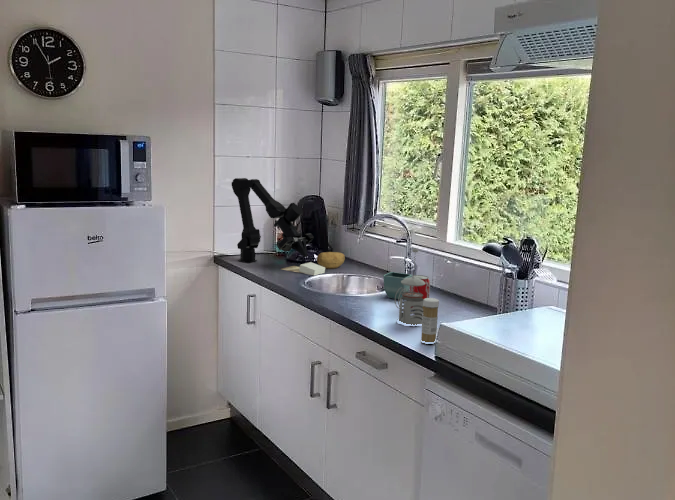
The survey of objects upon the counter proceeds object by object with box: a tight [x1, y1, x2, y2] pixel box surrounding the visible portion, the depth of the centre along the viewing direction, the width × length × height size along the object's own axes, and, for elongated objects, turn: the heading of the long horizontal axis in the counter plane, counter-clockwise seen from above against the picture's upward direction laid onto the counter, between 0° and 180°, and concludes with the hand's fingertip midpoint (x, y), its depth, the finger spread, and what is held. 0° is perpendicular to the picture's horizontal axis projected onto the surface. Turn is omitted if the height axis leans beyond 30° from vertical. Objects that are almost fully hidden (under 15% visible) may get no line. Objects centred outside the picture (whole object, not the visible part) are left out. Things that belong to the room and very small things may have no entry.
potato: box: [316, 251, 346, 270], centre depth 287 cm, size 10×14×8 cm
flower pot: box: [382, 271, 413, 300], centre depth 239 cm, size 9×9×9 cm
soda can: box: [409, 274, 431, 308], centre depth 223 cm, size 7×7×12 cm
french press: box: [394, 247, 426, 325], centre depth 204 cm, size 10×12×25 cm
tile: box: [299, 261, 326, 276], centre depth 273 cm, size 3×8×8 cm
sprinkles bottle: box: [420, 297, 440, 342], centre depth 185 cm, size 5×5×14 cm
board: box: [281, 265, 305, 274], centre depth 279 cm, size 13×10×1 cm
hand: (306, 256), depth 274 cm, fingers closed
